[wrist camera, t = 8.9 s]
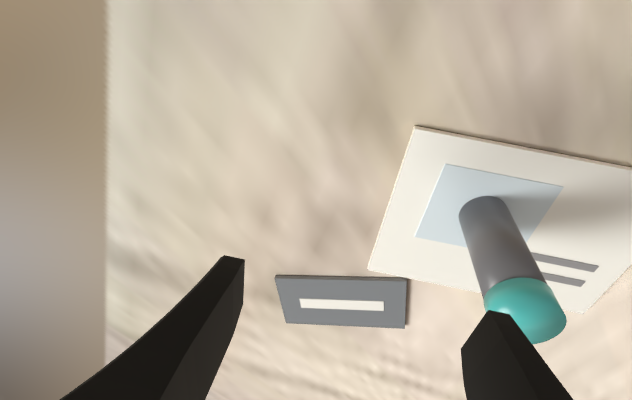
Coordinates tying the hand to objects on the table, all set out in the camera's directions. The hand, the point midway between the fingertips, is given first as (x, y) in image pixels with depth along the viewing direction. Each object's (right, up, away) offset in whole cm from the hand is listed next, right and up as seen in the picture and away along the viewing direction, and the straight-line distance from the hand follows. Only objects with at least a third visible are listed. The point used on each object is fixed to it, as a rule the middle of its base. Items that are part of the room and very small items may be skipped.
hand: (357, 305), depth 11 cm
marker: (+8, +2, +9) cm, 12 cm away
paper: (+10, +1, +10) cm, 14 cm away
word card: (+1, -4, +15) cm, 16 cm away
